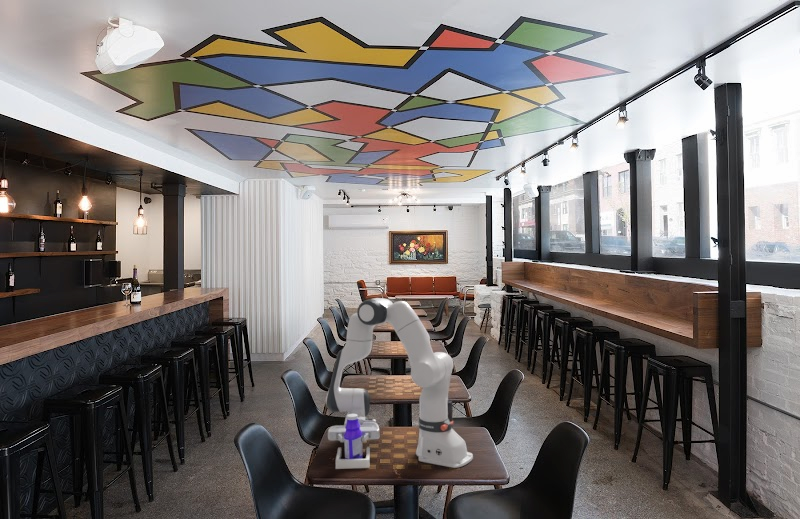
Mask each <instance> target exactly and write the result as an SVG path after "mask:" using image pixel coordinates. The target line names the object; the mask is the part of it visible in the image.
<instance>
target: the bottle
mask: <svg viewBox="0 0 800 519" xmlns="http://www.w3.org/2000/svg"><path fill="white" fill-rule="evenodd" d="M346 415H347V414H346ZM345 428H346V431H345V435H344V459H364V458H363V457H364V453H363V452H364V451H363V450H364V448H363V442H362V432H361V430H360V424H359V422H358V415H357V414H349V415H347V424H346V426H345Z"/></svg>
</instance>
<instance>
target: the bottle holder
mask: <svg viewBox="0 0 800 519" xmlns="http://www.w3.org/2000/svg"><path fill="white" fill-rule="evenodd" d="M370 450H371V446H366V451H365V452H366V454H365V455H366V456H365V458H362V459H345V458H342V447H338V448H337V451H336V452H337V453H336V456H335V470H341V469H343V470H345V469H346V470H347V469H370V466H371V465H370V460H371V459H370V458H371V456H370V455H371V451H370Z"/></svg>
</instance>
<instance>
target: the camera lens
mask: <svg viewBox="0 0 800 519" xmlns="http://www.w3.org/2000/svg"><path fill="white" fill-rule="evenodd" d="M453 405H454V404H453V401H452V399H451V398H449V397H448V418H449V421H450V422H452V421H453V410H454V409H453V408H454V406H453ZM451 426H452V428H453V426H454V424H452V425H451Z"/></svg>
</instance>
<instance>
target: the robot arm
mask: <svg viewBox="0 0 800 519" xmlns="http://www.w3.org/2000/svg"><path fill="white" fill-rule="evenodd" d="M386 323H388V324H390V325H391V326H392V328H393V330H394V331H395V334H396V335H397V337H398V338H399V340H400V342H401V344H402V345H403V347H404V350H405V352H406V354H407V357H408V361H409V364H410V377H411V380H412V382H414V384H415V385H417V386H418V387H421V388H422V389H421V393H420V395H419V399H418V400H419V417H418V431H419V434H418V440H417V441H418V442H417V446H416V447H417V448H416V451H415V455H416V457H418V461H419V462H422V463H426V464H432V465H437V466H443V467H447V468H454V469H456V468H461V467H463V466H466V465H467V464H469V463H470V462H471V461H472V460H473V459H474V455H473V453H472V452H469V451H468V449H467V448H468V447H467V444H466V441H465V440H464V439H463V438H462V437H461V436H460V435H459V434H458V433H457V432H456V431H455V429H454V428H453V427H452V426H451V425H452V424H453V425H454V420H452V422H450V421H449V418H448V398H449V390H450V385H451V377H452V372H453V369H454V360H453V358H452V357H451V355H450V354H449V353H447V352H443V351H435V352H434V350H433V348H432V345H431V344H432V343H431V338H430V333H428V330H427V329H426V328H425V326H424V324H423V322H422V321H421V319H420V318H419V316H418V314H417V312H416V311H415V310H414V309H413V308H412V307H411V305H410V304H409V303H408V302H406V301H405V300H398V301H394V300H393V299H391V298H388V297H374V298H369V299H366V300H364V301H362V302H361V303H360V304H359V306H358V308H357V310H356V313H353V314H352V315H350V317H349V320H348V324H347V330H346V340H345V345H344V346H343V348H342V349H340V350H339V351H338V353H337V354H336V357H335V363H334V366H333V371H332V375H331V380H330V384H329V388H328V391H327V394H326V397H325V407H326V408H327V409H328V410H329V411H330V412H331V413H342V412H344V413H346V412H347V414H346V416H345V419H344V424H343V425H341V424H340V425H337V424H335V425H331V426H330V427H329V428H328V430H327V439H328V441H331V442H333V441H334V442H335V441H339V442H340V443H344V435H345V431H346V428H345V426H346V424H347V415H349V414H357V415H358V422H359V424H360V430H361V432H362V443H366V441H368V440H379V439H380V426H379V424H378V423H377V420H376V419H375V418H370V417H369V418H368V417H367V416H368V415H369V414H370V406H371V404H370V403H371V397H370V393H369V392H368V391H367V389H365V388H357V387H356V388H351V387H350V388H348V387H347V388H346V387H340V386H341V380H342V376H343V371H344V369H345V368H346V367H347V366H349V365H350V364H353V363H356V362H359V361H361V360H364V359H366V358H367V357H368V356H369V355H370V354H371V352H372V347H373V337H374V336H373V332H374V328H375V327H376V326H377V325H378V326H379V325H384V324H386Z"/></svg>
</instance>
